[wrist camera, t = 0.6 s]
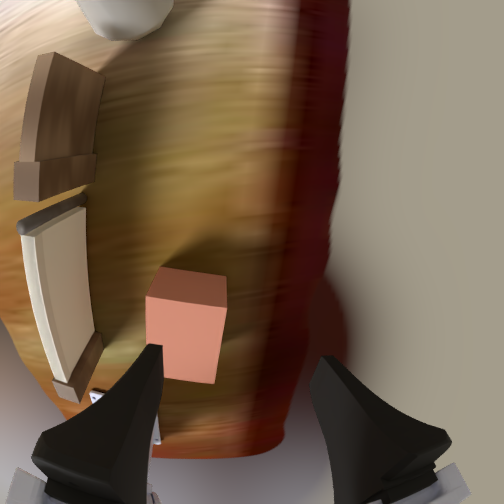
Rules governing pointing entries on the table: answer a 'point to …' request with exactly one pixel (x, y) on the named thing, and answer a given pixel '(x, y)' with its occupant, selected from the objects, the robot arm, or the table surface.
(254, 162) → the table surface
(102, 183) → the table surface
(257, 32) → the table surface
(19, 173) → the frame
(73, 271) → the door
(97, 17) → the salt shaker
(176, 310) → the block
